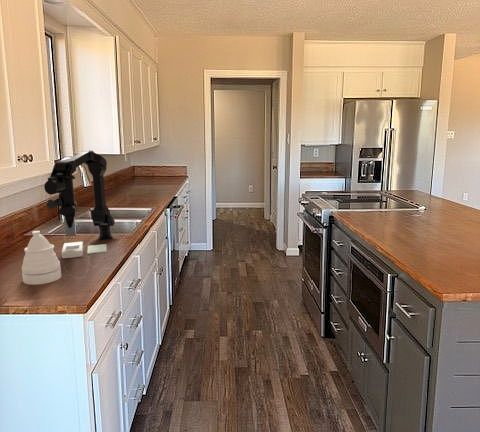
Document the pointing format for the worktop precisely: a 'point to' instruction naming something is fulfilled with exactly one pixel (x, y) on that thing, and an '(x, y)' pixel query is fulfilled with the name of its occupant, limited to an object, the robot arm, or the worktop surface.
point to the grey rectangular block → (71, 230)
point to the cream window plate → (72, 250)
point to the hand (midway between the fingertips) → (70, 226)
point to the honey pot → (40, 261)
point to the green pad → (96, 249)
